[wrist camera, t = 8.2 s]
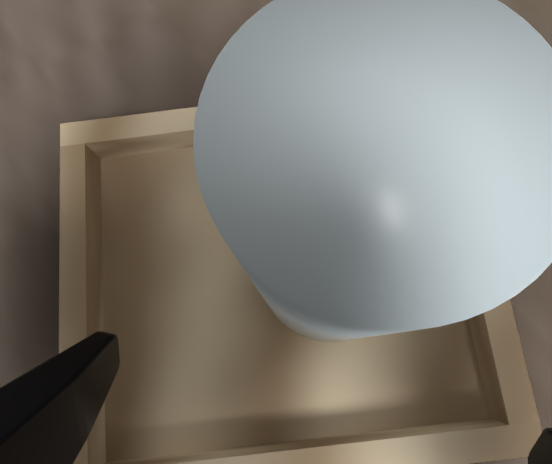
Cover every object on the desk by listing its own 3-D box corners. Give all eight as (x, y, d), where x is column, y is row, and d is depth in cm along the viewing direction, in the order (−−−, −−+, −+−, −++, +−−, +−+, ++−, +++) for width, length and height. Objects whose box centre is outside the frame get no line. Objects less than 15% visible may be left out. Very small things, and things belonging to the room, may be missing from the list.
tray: (89, 488, 17) (57, 510, 15) (85, 147, 21) (60, 123, 18) (514, 440, 17) (547, 454, 15) (437, 104, 20) (455, 74, 18)
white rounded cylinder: (308, 369, 17) (335, 419, 5) (234, 251, 18) (126, 83, 7) (425, 291, 18) (680, 182, 6) (345, 181, 19) (426, -87, 7)
